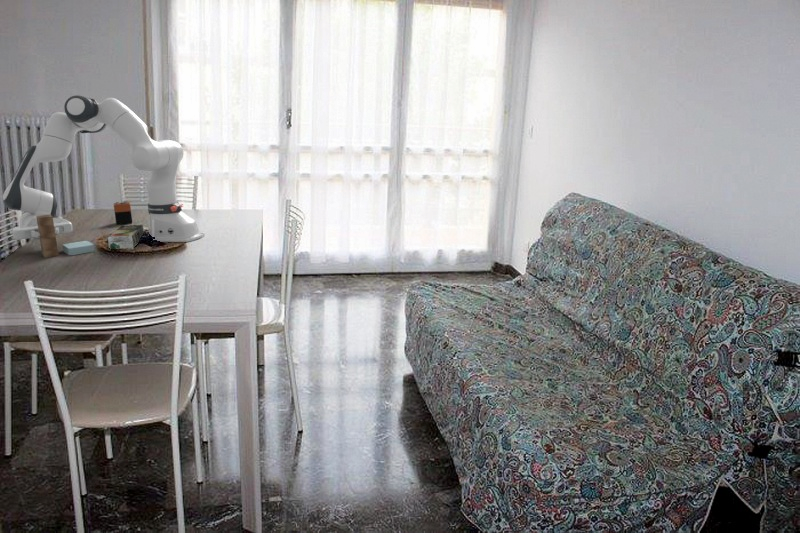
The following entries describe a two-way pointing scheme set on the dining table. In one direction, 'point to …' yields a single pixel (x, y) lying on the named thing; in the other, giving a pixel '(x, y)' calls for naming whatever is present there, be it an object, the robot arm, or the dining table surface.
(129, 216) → the battery
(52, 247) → the walnut post
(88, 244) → the teal block
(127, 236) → the juice carton
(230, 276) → the dining table surface
